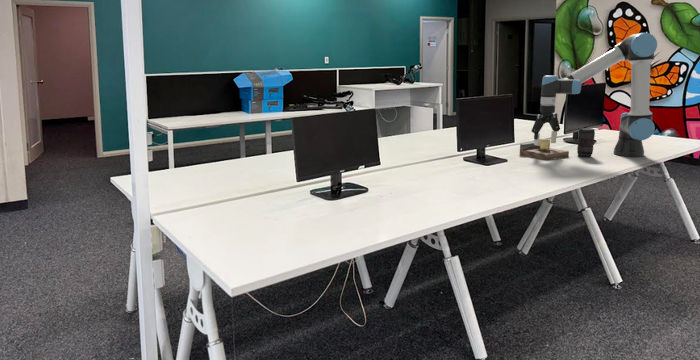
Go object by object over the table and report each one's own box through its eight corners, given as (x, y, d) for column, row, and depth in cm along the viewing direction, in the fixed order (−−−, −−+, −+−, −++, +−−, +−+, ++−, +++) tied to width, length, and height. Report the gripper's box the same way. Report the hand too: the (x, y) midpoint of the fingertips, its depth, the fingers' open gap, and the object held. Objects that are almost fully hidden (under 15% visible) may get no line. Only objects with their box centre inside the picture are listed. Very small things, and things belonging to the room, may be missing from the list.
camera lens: (589, 155, 306) (592, 128, 303) (594, 158, 298) (597, 130, 295) (574, 155, 307) (576, 127, 304) (578, 157, 299) (581, 129, 296)
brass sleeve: (542, 154, 308) (544, 138, 306) (551, 156, 304) (552, 139, 302) (536, 155, 306) (537, 139, 303) (544, 157, 301) (545, 140, 299)
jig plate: (568, 156, 302) (569, 145, 300) (546, 160, 293) (547, 148, 291) (541, 151, 317) (542, 141, 315) (519, 154, 307) (520, 144, 306)
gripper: (537, 106, 289) (534, 147, 294) (568, 104, 302) (565, 143, 306) (526, 105, 295) (523, 145, 300) (557, 103, 308) (554, 141, 313)
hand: (544, 144), depth 303 cm, fingers open, 13 cm apart
